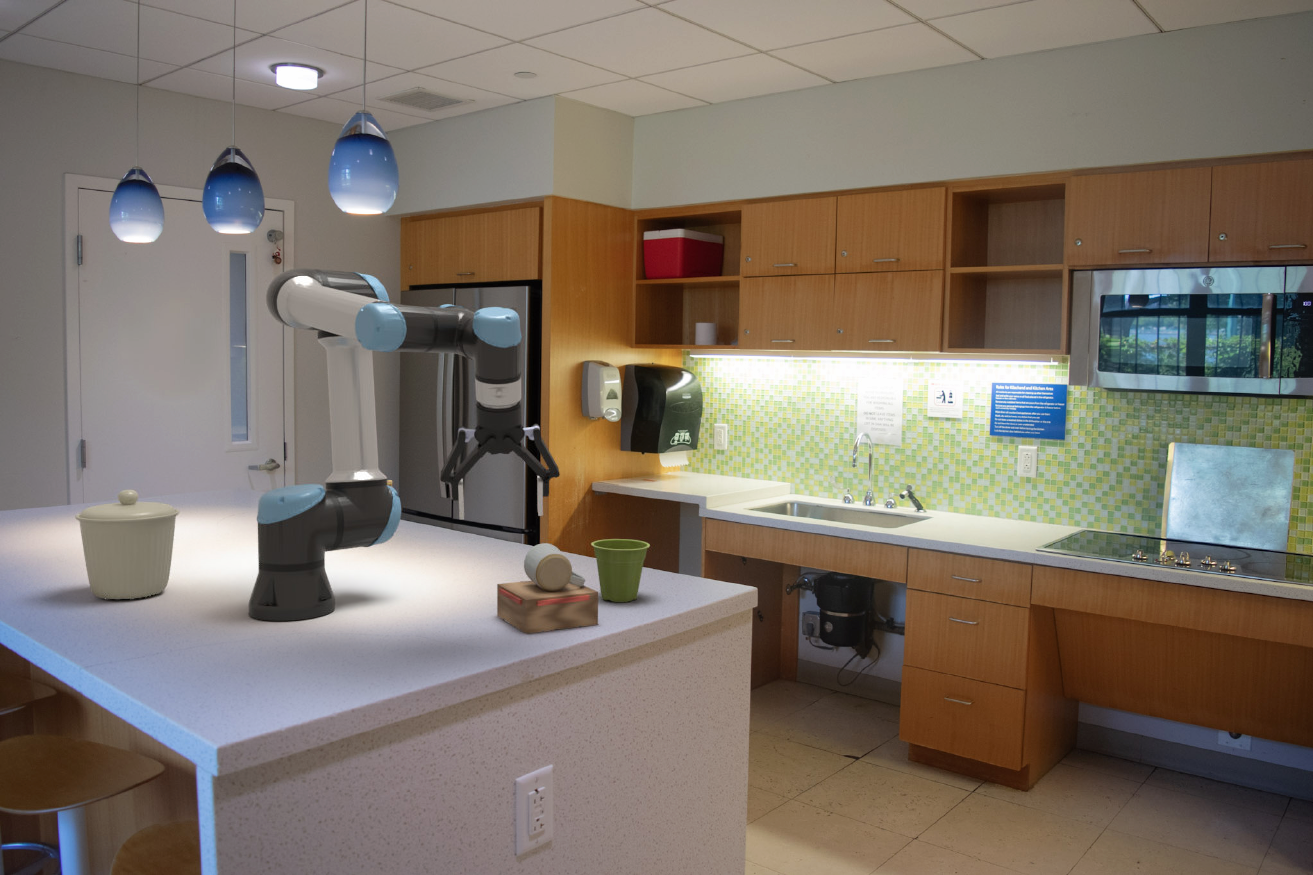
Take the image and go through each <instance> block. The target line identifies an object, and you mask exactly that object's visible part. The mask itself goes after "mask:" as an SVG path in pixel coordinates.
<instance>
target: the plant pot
mask: <svg viewBox="0 0 1313 875" xmlns="http://www.w3.org/2000/svg"><path fill="white" fill-rule="evenodd" d="M590 544H591V547H593V551H594V556H595V560H596V565H597V574H598V580H599V588H600V595H601V599H603V600H604V601H611V602H613V603H628V601H629V602H632V601H633V600H637V598H638V593H639V588H640V584H641V577H642V572H643V567H644V562H645V560H646V557H647V551H648V549H649V548H650V546H651V545H650V543H648V542H646V541H642V540H638V539H628V538H626V539H624V538H623V539H622V538H621V539H620V538H612V539H611V538H610V539H600V540H595V541H593V542H591V543H590Z"/></svg>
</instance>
